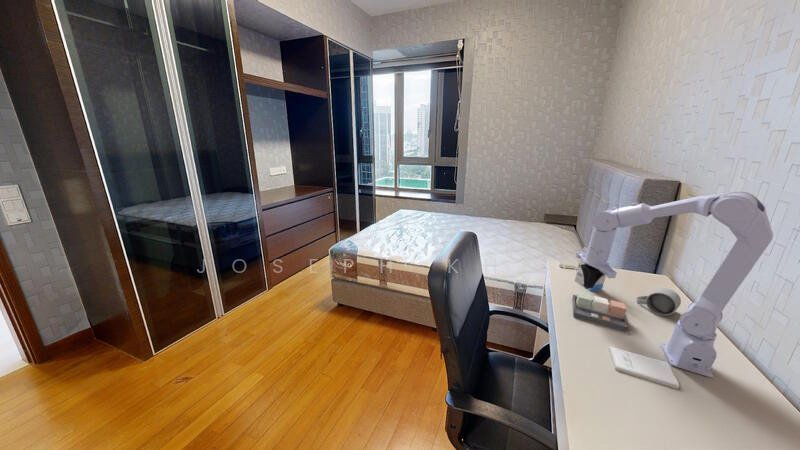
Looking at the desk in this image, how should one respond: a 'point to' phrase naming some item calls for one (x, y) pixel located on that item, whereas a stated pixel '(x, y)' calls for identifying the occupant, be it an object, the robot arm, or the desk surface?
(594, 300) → the key cream
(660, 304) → the ceramic mug
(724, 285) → the robot arm
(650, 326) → the desk surface
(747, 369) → the desk surface
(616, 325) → the keypad
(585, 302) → the key sage
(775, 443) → the desk surface
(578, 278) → the ink box
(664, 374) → the external hard drive
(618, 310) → the key terracotta
